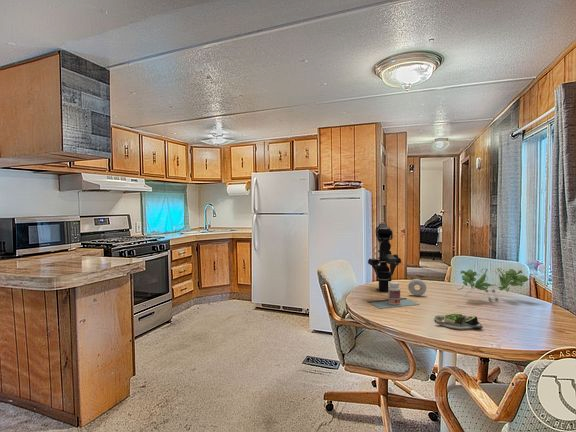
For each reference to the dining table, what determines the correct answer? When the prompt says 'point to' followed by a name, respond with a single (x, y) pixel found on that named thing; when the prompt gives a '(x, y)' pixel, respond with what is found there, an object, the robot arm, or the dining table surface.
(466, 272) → the plant cuttings
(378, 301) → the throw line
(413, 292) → the donut
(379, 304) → the mat
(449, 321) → the salad plate
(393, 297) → the pill bottle
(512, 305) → the dining table surface
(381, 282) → the robot arm
